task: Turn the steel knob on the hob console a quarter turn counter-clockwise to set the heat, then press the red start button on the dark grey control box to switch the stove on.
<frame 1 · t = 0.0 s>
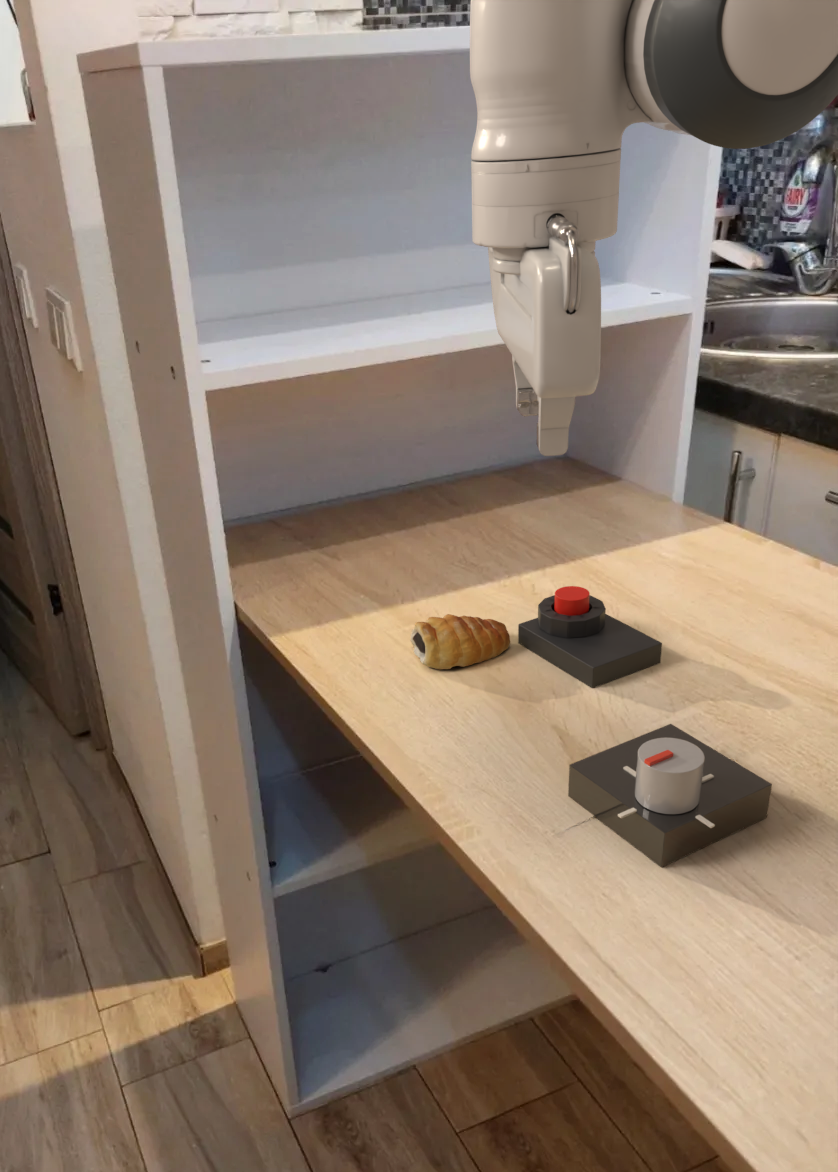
hand: (540, 431, 70), 26 cm above the table, tool pointing down, fingers open, 8 cm apart
hob console: (664, 807, 76), on the table
hob knob: (669, 773, 71), point 5 cm above the table, hinge at 0.0°
start button: (571, 601, 97), point 5 cm above the table, slide at 0.2 cm
pastry: (455, 655, 100), on the table
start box: (587, 653, 97), on the table
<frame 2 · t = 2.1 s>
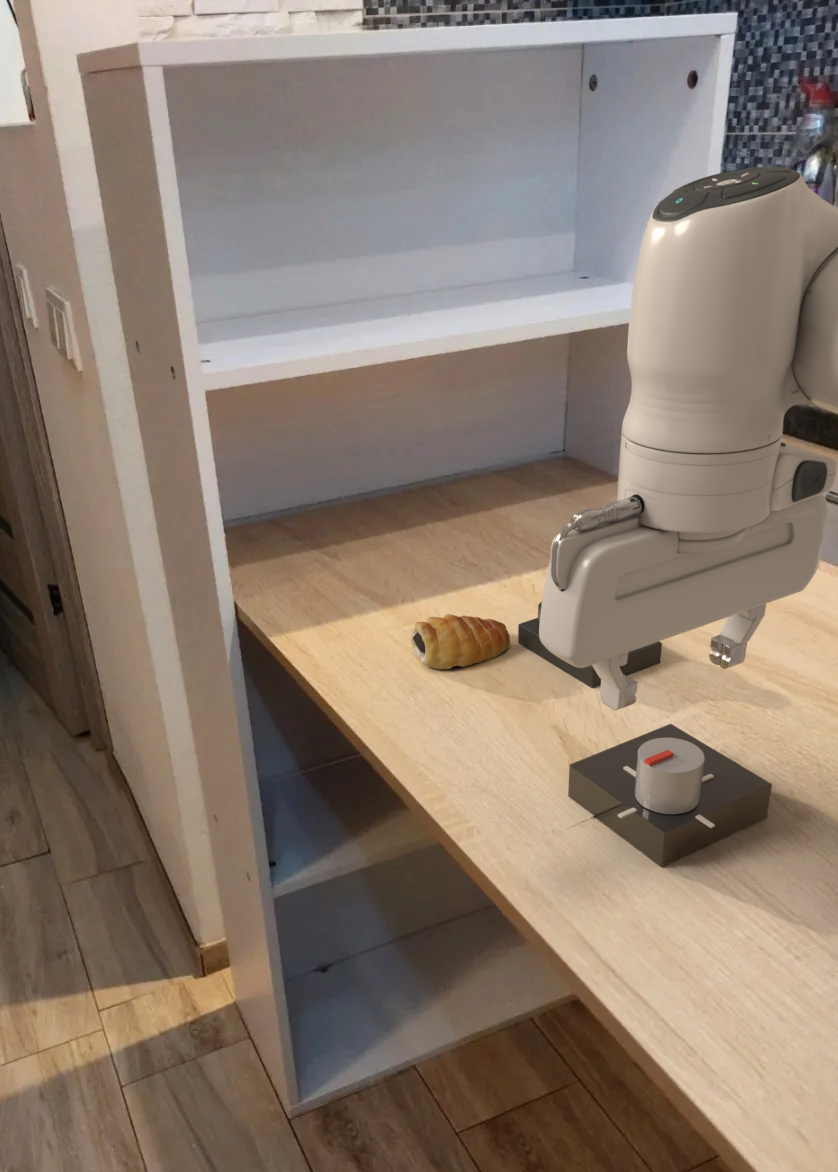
hand: (673, 683, 68), 12 cm above the table, tool pointing down, fingers open, 8 cm apart
nothing on the table moved.
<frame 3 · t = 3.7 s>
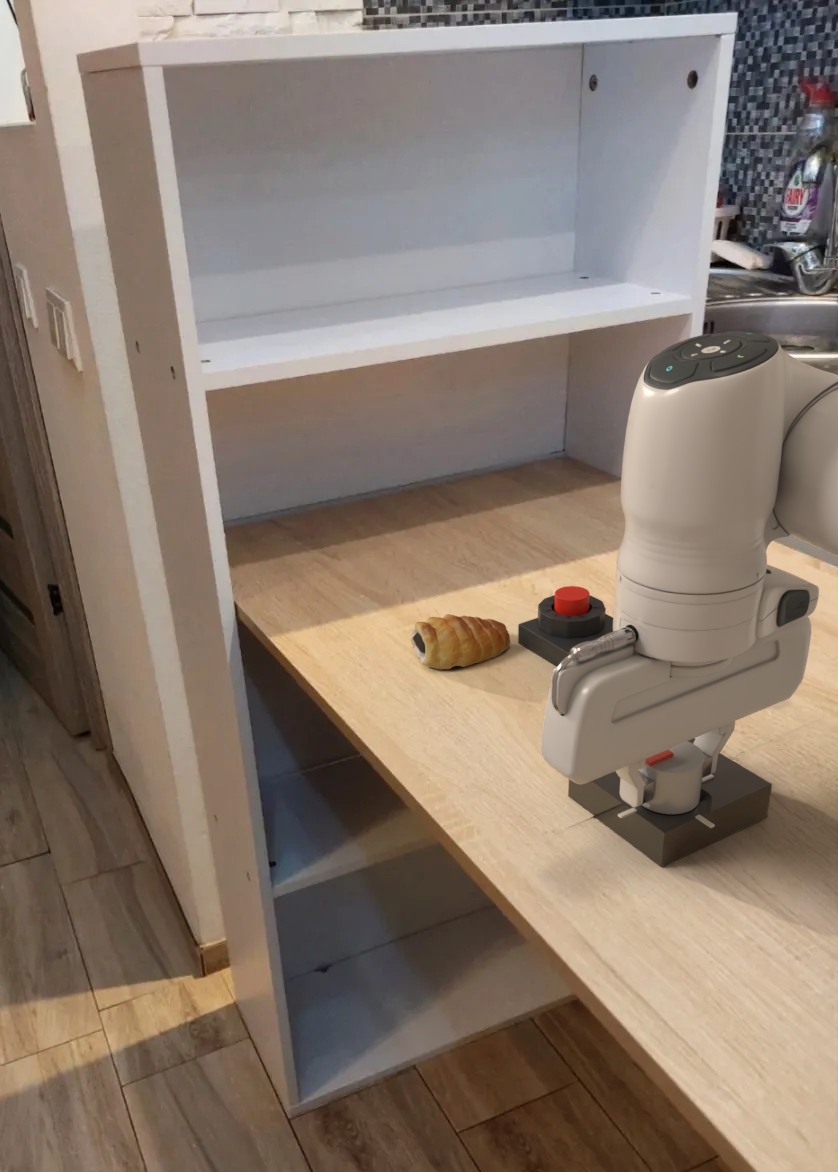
hand: (668, 786, 72), 4 cm above the table, tool pointing down, fingers closed on hob knob, 4 cm apart
hob knob: (669, 773, 71), point 5 cm above the table, hinge at 0.0°, touching gripper
everything else where it was.
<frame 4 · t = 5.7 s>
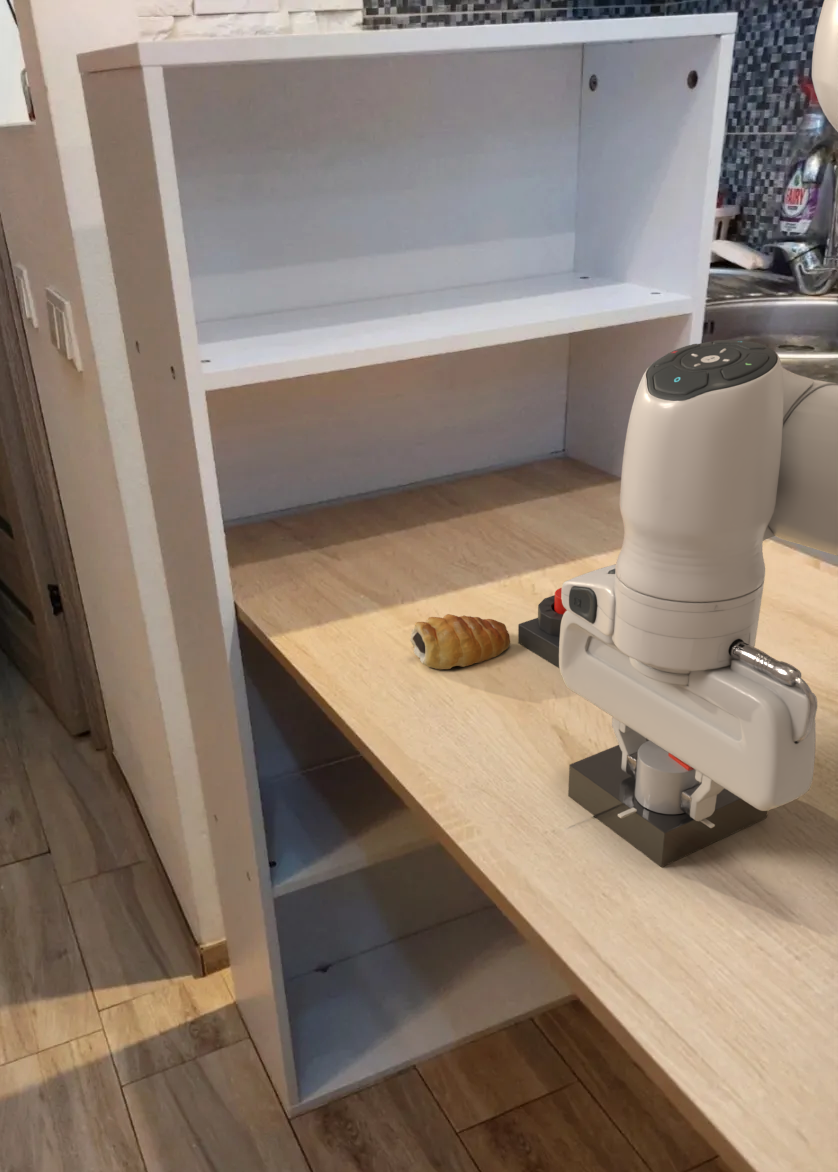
hand: (665, 792, 72), 3 cm above the table, tool pointing down, fingers open, 4 cm apart
hob knob: (669, 773, 71), point 5 cm above the table, hinge at 84.7°
everything else where it was.
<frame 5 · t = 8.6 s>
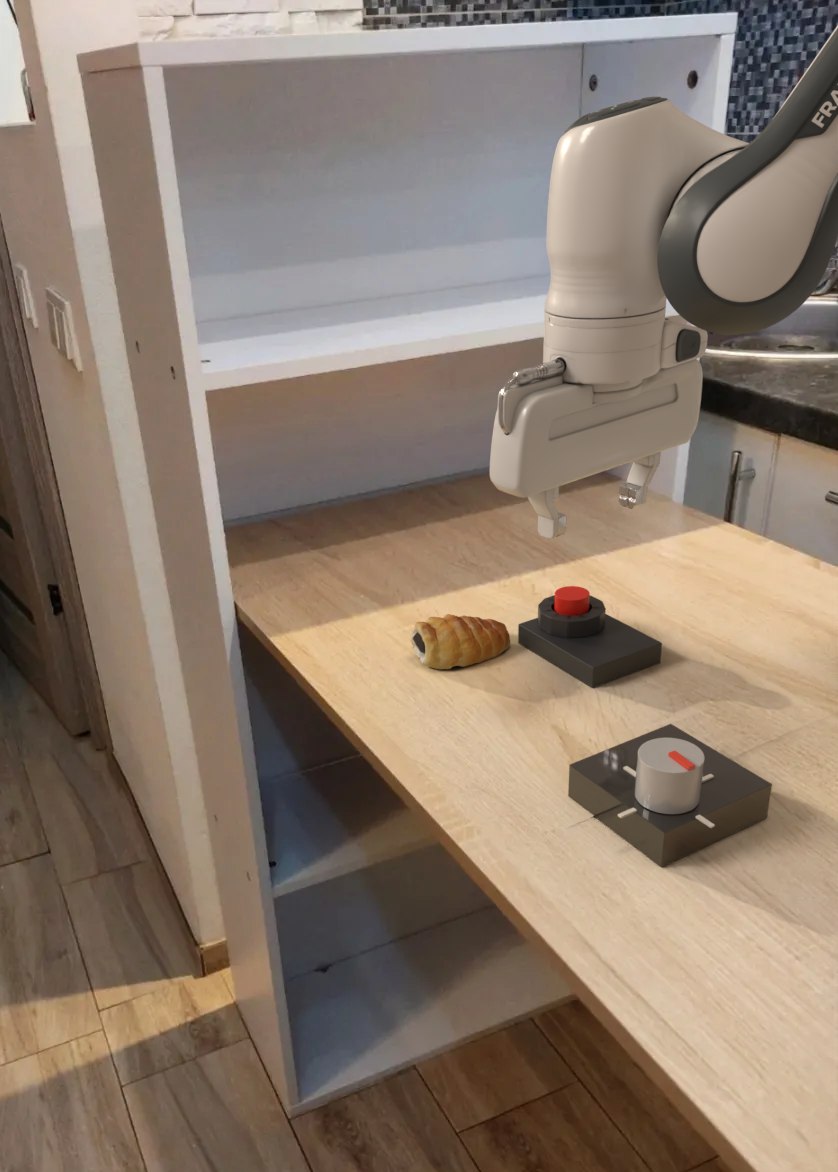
hand: (592, 520, 85), 15 cm above the table, tool pointing down, fingers open, 8 cm apart
nothing on the table moved.
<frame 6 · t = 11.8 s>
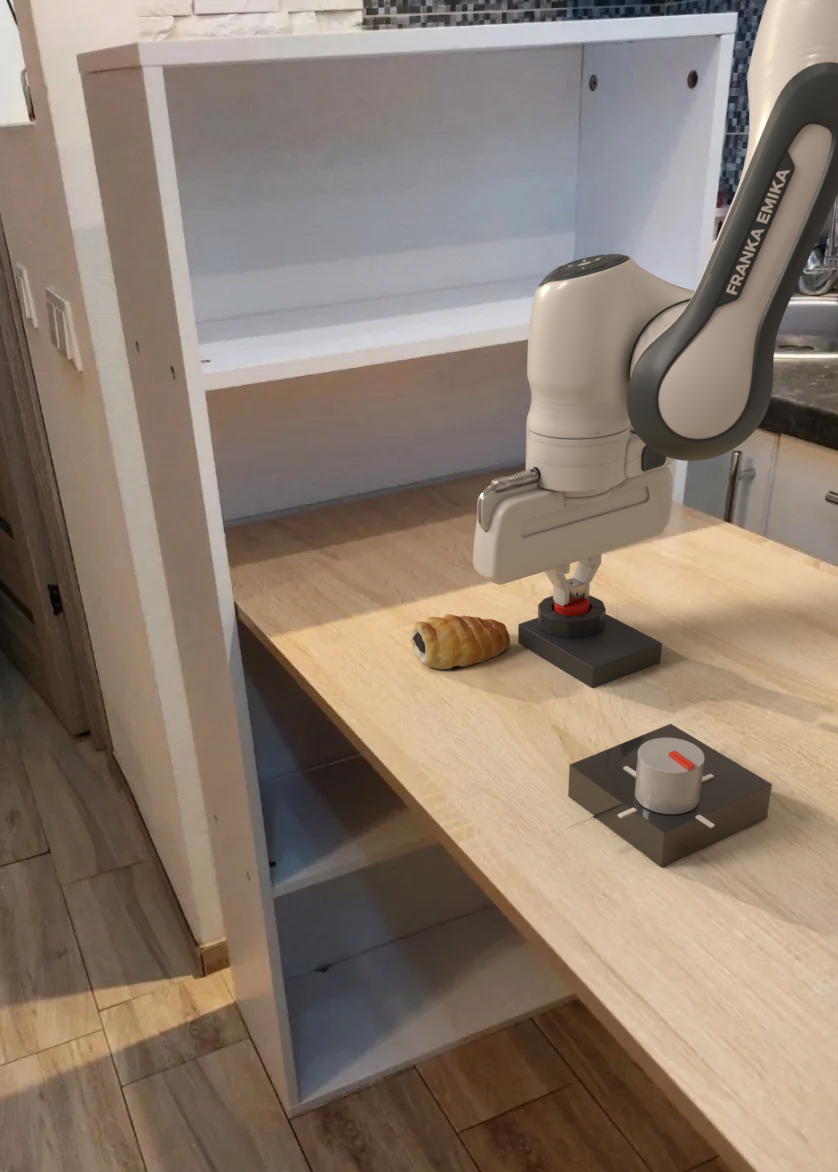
hand: (570, 600, 97), 5 cm above the table, tool pointing down, fingers closed, pressing on start button
start button: (571, 609, 97), point 4 cm above the table, slide at -0.7 cm, touching gripper
everything else where it was.
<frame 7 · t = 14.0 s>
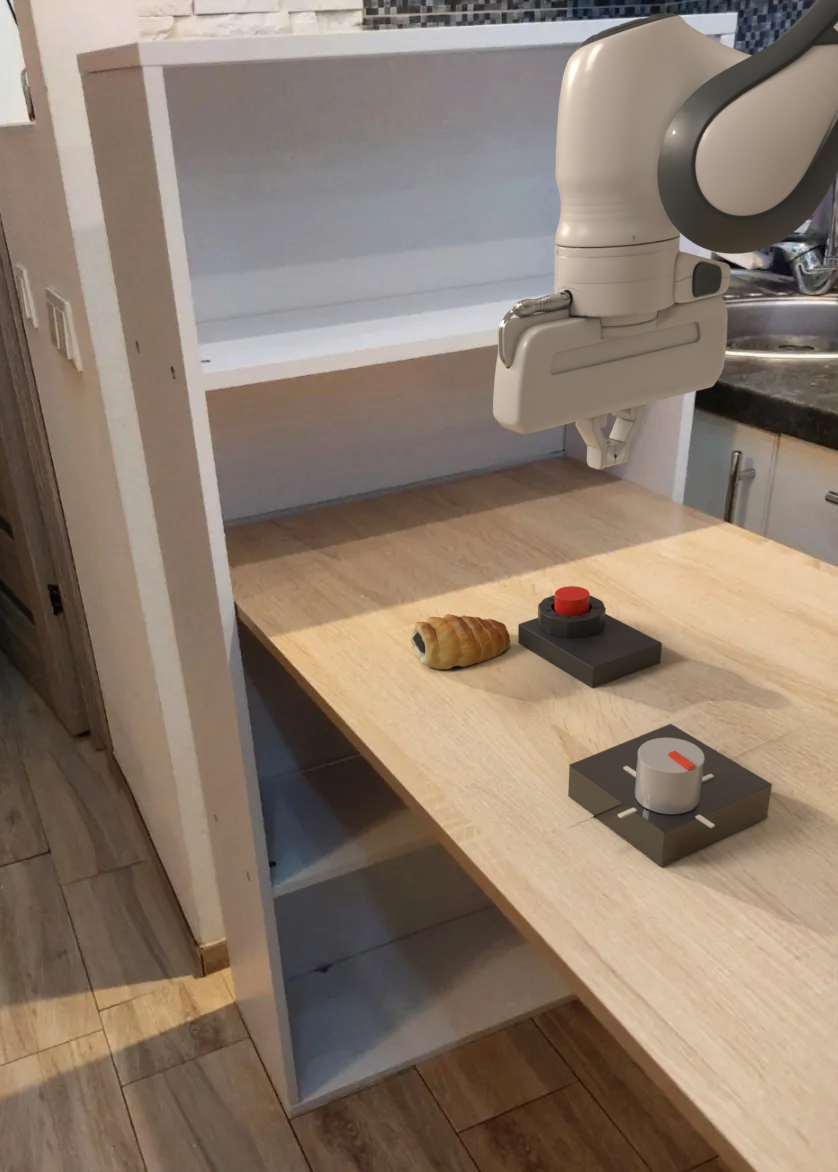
hand: (607, 464, 83), 20 cm above the table, tool pointing down, fingers closed
start button: (571, 601, 97), point 5 cm above the table, slide at 0.1 cm
everything else where it was.
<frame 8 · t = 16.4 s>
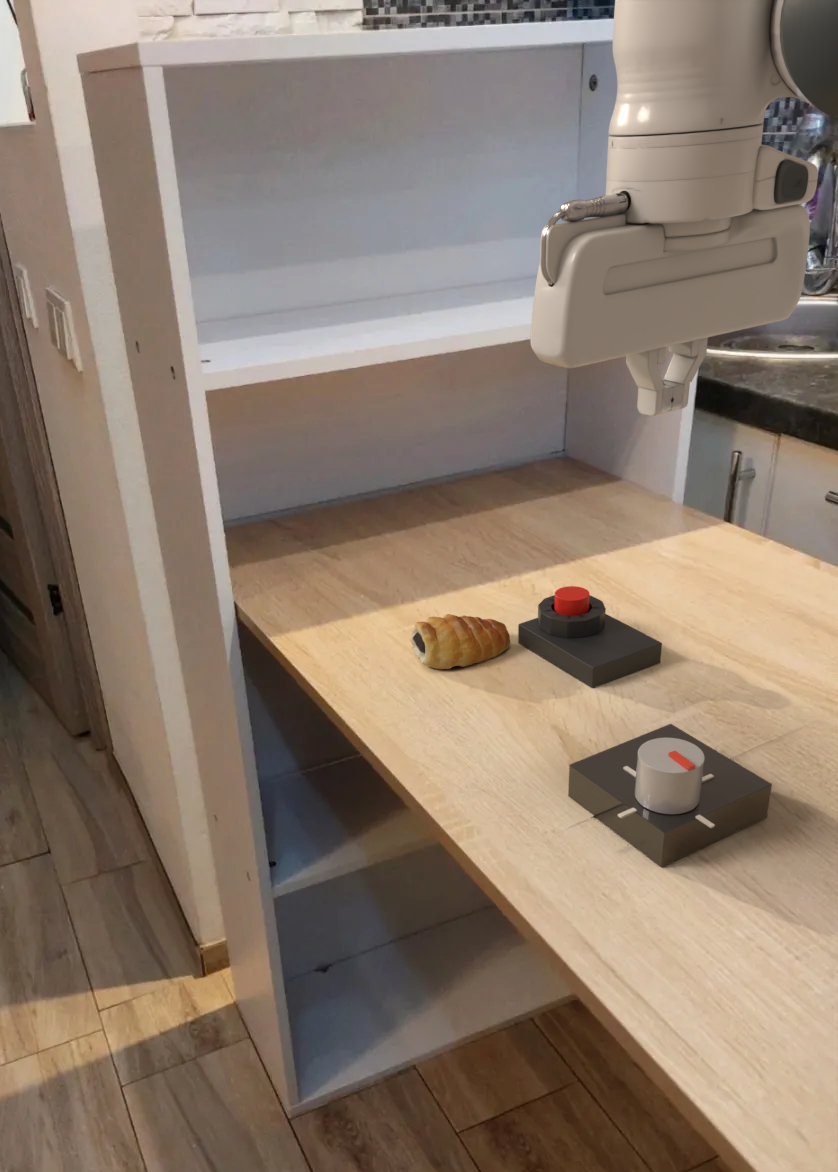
hand: (662, 411, 70), 27 cm above the table, tool pointing down, fingers closed
nothing on the table moved.
at the end: hob knob at +85° (first picture: +0°); start button pushed in 1.1 cm at the most during the clip, back to where it started at the end; start button slide at 0.1 cm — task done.
